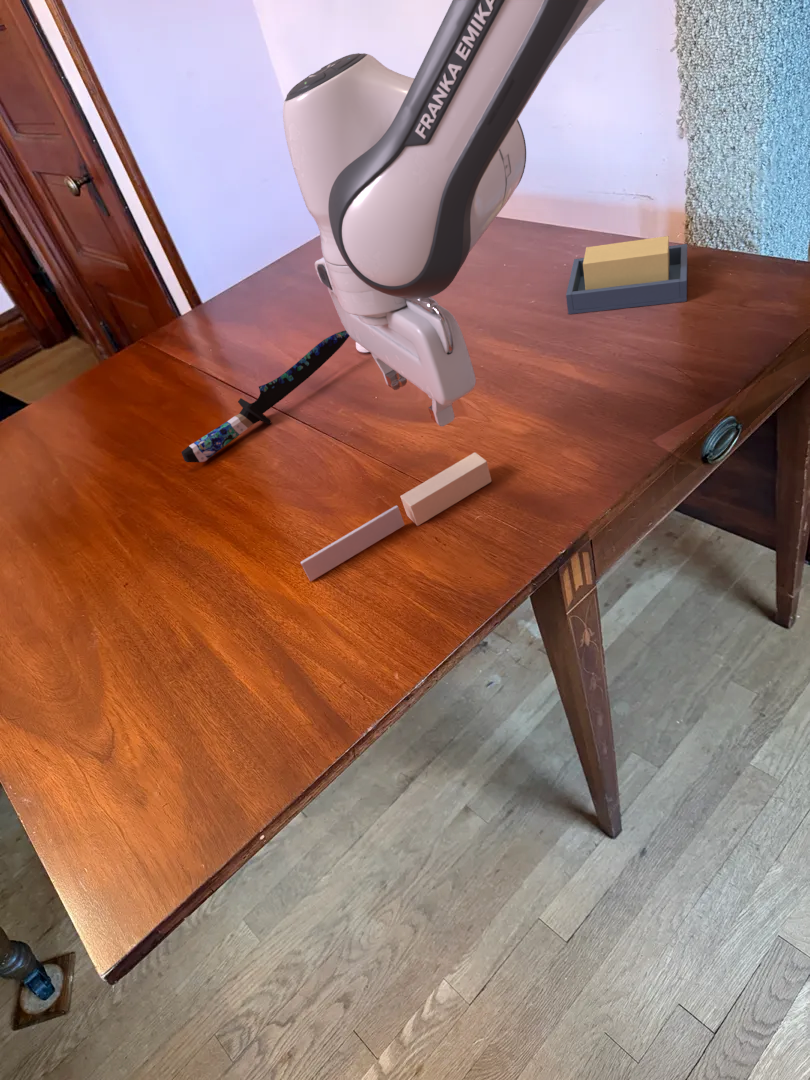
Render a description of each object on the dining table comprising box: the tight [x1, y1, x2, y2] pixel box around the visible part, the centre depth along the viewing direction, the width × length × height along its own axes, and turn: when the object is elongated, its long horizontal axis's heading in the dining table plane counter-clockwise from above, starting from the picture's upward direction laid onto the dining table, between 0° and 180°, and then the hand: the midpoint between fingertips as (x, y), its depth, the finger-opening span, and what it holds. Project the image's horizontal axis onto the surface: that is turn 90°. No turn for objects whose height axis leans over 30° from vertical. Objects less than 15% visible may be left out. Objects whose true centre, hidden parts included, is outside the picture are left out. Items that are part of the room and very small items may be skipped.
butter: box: [583, 235, 670, 290], centre depth 103 cm, size 11×5×4 cm, turn 74°
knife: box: [180, 329, 350, 463], centre depth 105 cm, size 31×3×4 cm, turn 126°
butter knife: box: [300, 452, 492, 582], centre depth 81 cm, size 23×2×3 cm, turn 119°
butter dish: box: [565, 243, 688, 315], centre depth 105 cm, size 16×11×3 cm
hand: (419, 402), depth 75 cm, fingers open, 8 cm apart
